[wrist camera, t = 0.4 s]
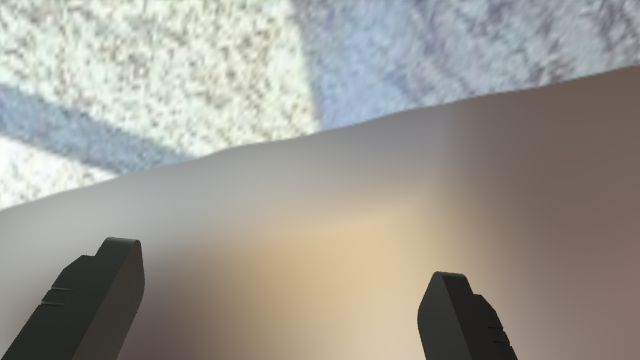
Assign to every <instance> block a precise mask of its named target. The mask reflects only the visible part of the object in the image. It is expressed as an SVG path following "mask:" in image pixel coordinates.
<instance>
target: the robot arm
mask: <svg viewBox="0 0 640 360" xmlns="http://www.w3.org/2000/svg"><path fill="white" fill-rule="evenodd" d="M144 285H145V278H144V269H143V259H142V250H141V243H140V241H139V240H134V239H124V238H114V237H108V238H106V239H105V241H104V242H103V244H102V245H101V247H100V248H99V250H98V252H97V253H96V255H95V256H87V255H86V256H85V255H82V256H80V257H79V258H78V259H76V260H75V261H74V262H72V263H71V264H70V265H68V266H67V267H66V268H64V269H63V271H62V272H61V273H60V275H59V276H58V278H57V279H56V281H55V282H54V284H53V285H52V287H51V290H49V291H48V292H47V294H46V295H45V296H44V298H43V299H42V301H41V305H38V307H37V308H36V310H35V311H34V312H33V314H32V315H31V317H30V318H29V320H28V321H27V323H26V324H25V326H24V327H23V328H22V330H21V331H20V333H19V334H18V336H17V337H16V338H15V340H14V341H13V343H12V344H11V346H10V347H9V349H8V350H7V351H6V353H5V354H4V356H3V357H2V359H1V360H116V359H117V357H118V354H119V352H120V350H121V347H122V345H123V343H124V340H125V338H126V336H127V334H128V331H129V329H130V327H131V324H132V322H133V320H134V317H135V315H136V313H137V311H138V308H139V306H140V303H141V300H142V297H143V293H144ZM417 321H418V330H419V334H420V338H421V342H422V345H423V349H424V353H425V357H426V360H518V359H517V357H516V355H515V352H514V350H513V348H512V346H510V342H509V339H508V337H507V335H506V333H505V332H504V331H503V326H502V324H501V322H500V320H499V318H498V316H497V313H496V311H495V310H494V309H493V308H492V306H491V305H490V304H489V303H488V302H487V301H486V300H485V299H484V298H483V296H482V295H478V294H473V292H472V290H471V287H470V285H469V282H468V280H467V278H466V277H465V275H463V274H458V273H448V272H438V271H437V272H435V273H434V274H433V276H432V278H431V280H430V283H429V285H428V287H427V290H426V292H425V294H424V297H423V299H422V301H421V304H420V306H419V309H418V317H417Z"/></svg>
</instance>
